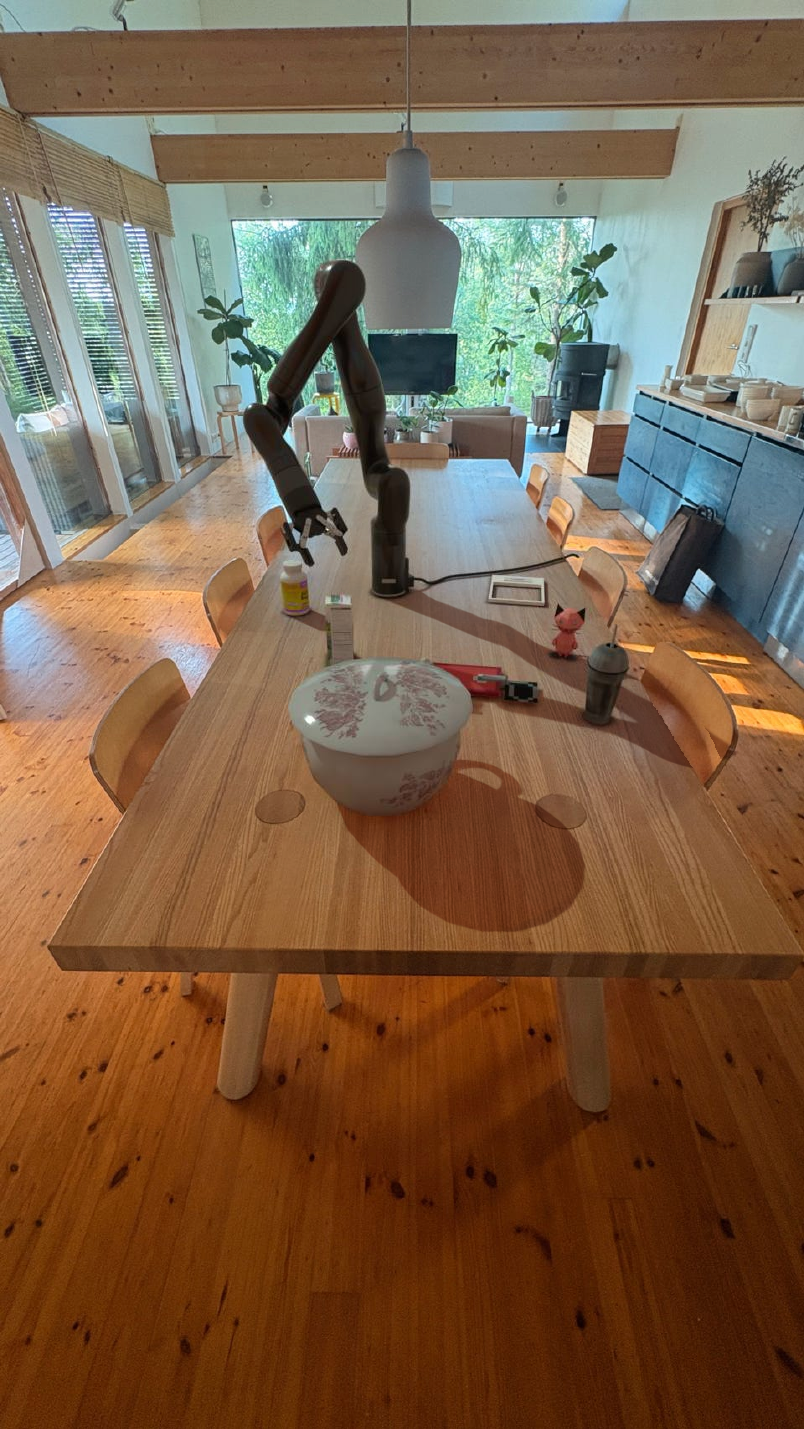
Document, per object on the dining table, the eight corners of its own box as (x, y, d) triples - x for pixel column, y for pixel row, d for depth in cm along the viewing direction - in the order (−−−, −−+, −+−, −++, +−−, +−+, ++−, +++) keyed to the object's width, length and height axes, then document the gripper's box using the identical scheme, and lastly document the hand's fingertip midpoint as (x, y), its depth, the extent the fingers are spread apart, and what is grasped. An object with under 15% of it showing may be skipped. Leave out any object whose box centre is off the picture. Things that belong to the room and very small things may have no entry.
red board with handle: (537, 712, 120) (536, 675, 132) (538, 699, 118) (538, 663, 131) (384, 699, 124) (398, 665, 137) (384, 687, 123) (398, 654, 135)
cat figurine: (545, 658, 139) (552, 608, 132) (550, 645, 144) (557, 597, 138) (577, 664, 137) (586, 613, 130) (581, 650, 142) (590, 601, 136)
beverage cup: (617, 711, 121) (639, 616, 110) (615, 731, 115) (638, 633, 104) (579, 705, 123) (596, 611, 112) (575, 724, 117) (593, 627, 106)
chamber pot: (328, 868, 87) (317, 749, 75) (279, 759, 108) (265, 653, 96) (501, 814, 96) (514, 700, 85) (425, 723, 117) (428, 622, 106)
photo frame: (543, 577, 178) (544, 602, 163) (543, 581, 178) (544, 606, 163) (492, 574, 180) (488, 598, 165) (492, 577, 180) (488, 602, 165)
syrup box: (328, 654, 140) (324, 594, 132) (354, 653, 141) (351, 593, 133) (328, 666, 136) (323, 604, 128) (355, 665, 136) (352, 603, 128)
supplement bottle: (304, 617, 157) (300, 568, 150) (280, 615, 158) (274, 566, 151) (313, 607, 163) (309, 559, 156) (289, 605, 164) (284, 557, 157)
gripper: (272, 492, 131) (305, 563, 131) (329, 477, 137) (361, 544, 138) (264, 508, 137) (296, 575, 138) (319, 493, 144) (349, 557, 144)
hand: (328, 559), depth 138 cm, fingers open, 8 cm apart
